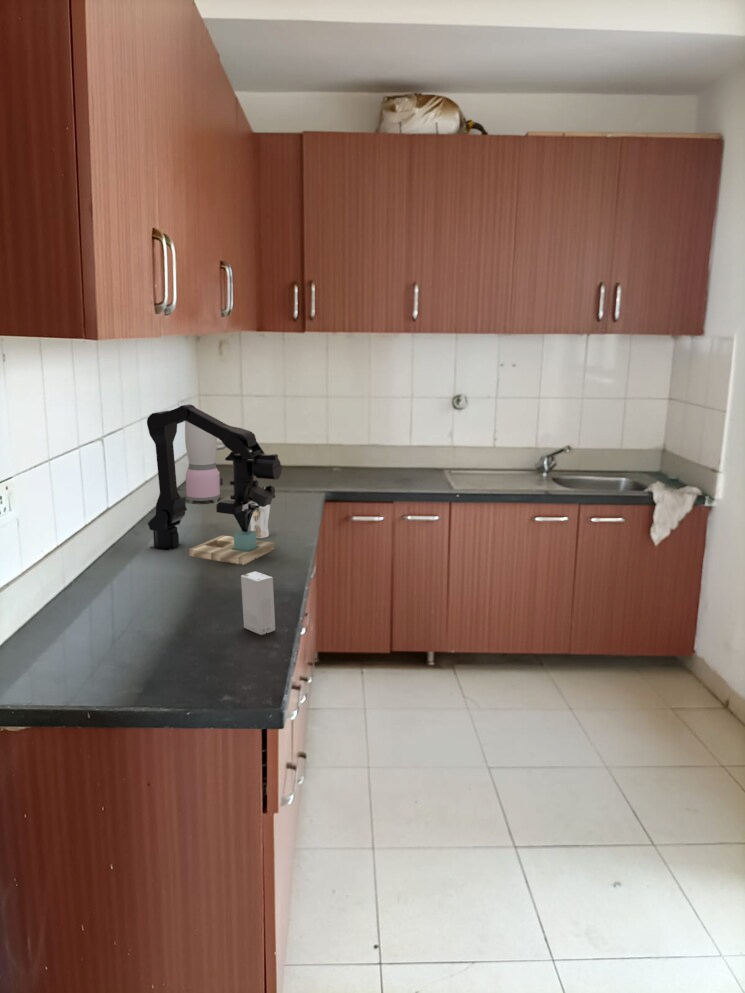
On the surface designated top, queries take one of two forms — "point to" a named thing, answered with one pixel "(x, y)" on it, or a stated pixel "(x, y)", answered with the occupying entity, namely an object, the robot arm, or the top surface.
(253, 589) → the skincare box
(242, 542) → the teal block
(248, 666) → the top surface
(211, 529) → the top surface
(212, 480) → the blender
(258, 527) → the beer glass
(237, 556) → the pocket board
